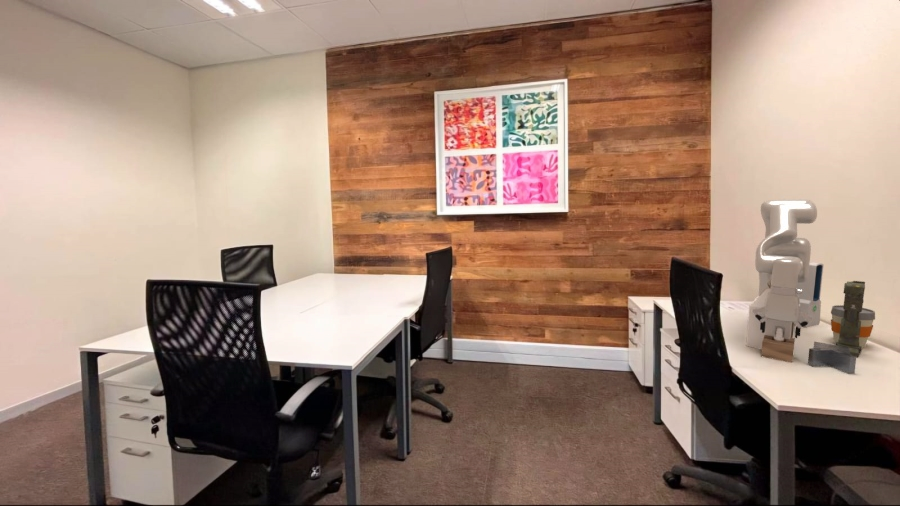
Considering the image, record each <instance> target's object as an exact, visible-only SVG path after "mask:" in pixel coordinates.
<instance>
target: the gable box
mask: <svg viewBox="0 0 900 506" xmlns="http://www.w3.org/2000/svg"><path fill="white" fill-rule="evenodd" d="M771 279H772V278H771ZM767 284H768V287H767V288H766V289H765V290H764V291H763V292H762V293H761V294H760V295H759V294H758V296H756V297H755V298H754V300H752V302H751V303H750V305H749V306H748V318H747V319H748V320H747V331H746V342H745V343H746V344H745V345H746V347H748V346H749V347H748V348H753V347H755V349H758V348H760V349H759V350H762V341H763V338H764V335H768V336H773V337H774V331H775V326H781V327H785V335H784V338H785V339H790V338H794V335H795V331H794V330H795V325H794V323H793V322H786V321H779V320H772V319H767V320H766V321H765V322H766V324H765V332H764V333H762V330H760V323H761V322H760V321H759V320H758V319H757V318H756V317H755V315H754V313H753V309H757V308H761V307H765V302H766V297H767V294H768V292H770V291H771V280H770V281H769V282H768V283H767ZM758 314H759V315H760V316H761V317H764V311H760V312H758Z"/></svg>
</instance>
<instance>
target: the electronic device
mask: <svg viewBox="0 0 900 506" xmlns="http://www.w3.org/2000/svg"><path fill="white" fill-rule="evenodd" d="M823 273H824V264H823V263H819V262H811V261H810V264H809V274H808V279H807V280H806V281H805V282H803V283H797V289H799V290H802V293H799V294H796V295H798V296H799V300H800V311H801V312H803V313H805V314H806V315H808V316H810V317H812V320H811V321H810V322H809V323H808V324H807V325H806V326H804V327H803V328H811V327H816V326H819V324H820V323H821V311H822V310H821V307H822V305H821V304H822V301H821V293H822V283H823V282H822V281H823ZM805 320H806V318H804V317H802V316H800V315H799V319H798V321H799V322H800V323H802V322H803V321H805ZM794 326H796V325H795V324H794Z"/></svg>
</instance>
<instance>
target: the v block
mask: <svg viewBox="0 0 900 506" xmlns="http://www.w3.org/2000/svg"><path fill="white" fill-rule="evenodd" d="M856 362H857V357H856V356H853V355H850V352H849V348H848V347H845V346H839V345H836V344H831V343H825V342H820V341H814V342H813V347H811V348H808V356H807V365H808V364H809V366H810V365H811V367H813V366H815V367H832V368H834V369H837V370H838V371H841V372H844V373H846V374H855V372H856V364H857V363H856Z"/></svg>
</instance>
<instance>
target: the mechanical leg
mask: <svg viewBox="0 0 900 506" xmlns="http://www.w3.org/2000/svg"><path fill="white" fill-rule="evenodd" d="M865 290H866V282H865V281H861V280H853V281H846V282H845V283H844V287H843V294H844V299H843V309H844V318H842V319H841V326H840V335H839V339H838V342H836V344H835V345H839V346H845V347H848V348H849V352H850V355H853V356H856V358H858V357H859V356H860V354H861V353H862V349H861V348H862V347H861V346H859V335H860V329H861V321H859V312H862V308H864V307H863V306H864V295H865Z"/></svg>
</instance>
